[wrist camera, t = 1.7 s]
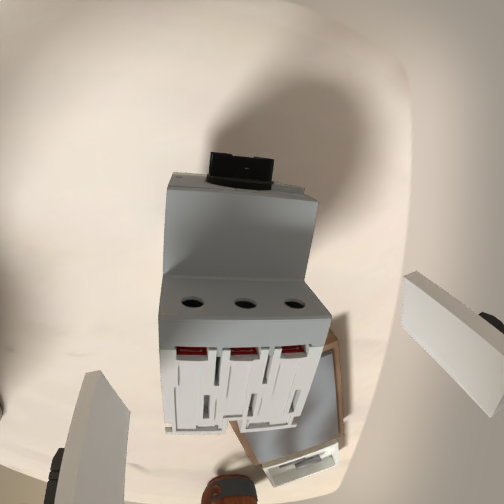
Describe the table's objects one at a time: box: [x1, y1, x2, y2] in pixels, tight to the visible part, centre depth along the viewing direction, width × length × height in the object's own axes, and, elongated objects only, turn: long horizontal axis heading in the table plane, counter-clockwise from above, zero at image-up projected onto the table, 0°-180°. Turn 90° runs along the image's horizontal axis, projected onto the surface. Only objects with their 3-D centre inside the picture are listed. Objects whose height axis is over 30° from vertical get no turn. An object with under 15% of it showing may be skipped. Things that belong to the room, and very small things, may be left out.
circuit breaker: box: [158, 152, 332, 435], centre depth 20 cm, size 8×14×15 cm, turn 173°
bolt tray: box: [262, 438, 339, 488], centre depth 41 cm, size 12×9×3 cm
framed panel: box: [229, 329, 344, 466], centre depth 35 cm, size 14×20×3 cm
